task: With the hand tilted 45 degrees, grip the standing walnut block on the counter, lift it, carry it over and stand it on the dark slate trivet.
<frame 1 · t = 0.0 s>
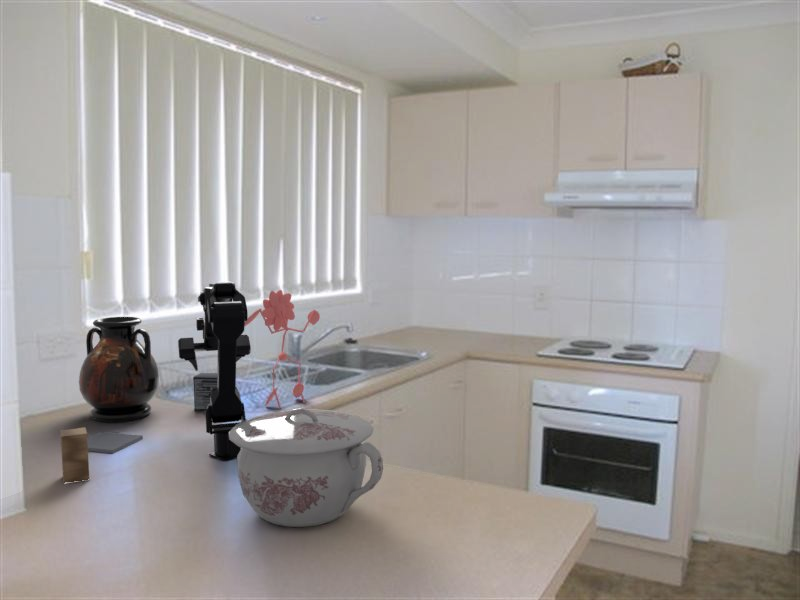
hand: (213, 368, 197), 15 cm above the countertop, tool tilted 35°, fingers open, 9 cm apart
walnut block: (76, 478, 155), on the countertop
slate trivet: (107, 443, 178), on the countertop
amphora vase: (121, 416, 204), on the countertop
figurine: (279, 402, 219), on the countertop
small box: (214, 409, 211), on the countertop
chamber pot: (303, 514, 137), on the countertop
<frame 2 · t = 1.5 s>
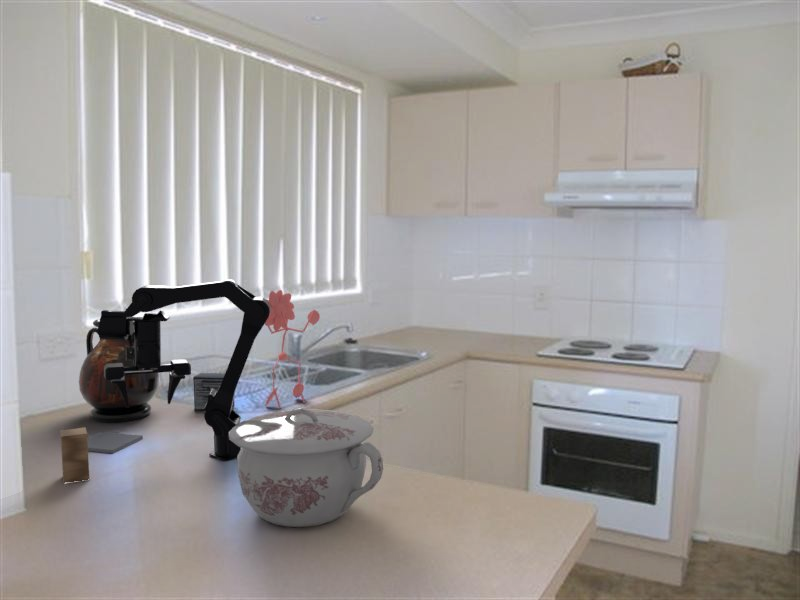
hand: (148, 405, 166), 13 cm above the countertop, tool pointing down, fingers open, 9 cm apart
nothing on the countertop moved.
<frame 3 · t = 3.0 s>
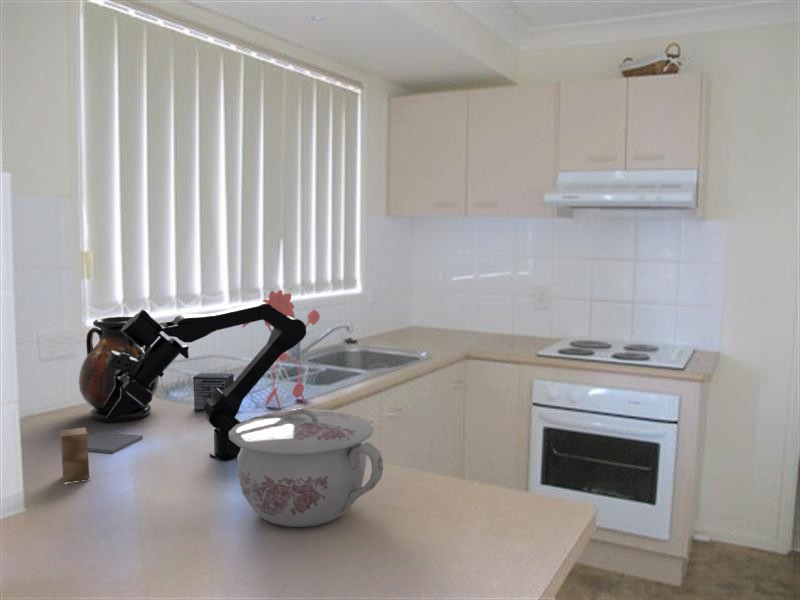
hand: (105, 414, 156), 13 cm above the countertop, tool tilted 45°, fingers open, 9 cm apart
nothing on the countertop moved.
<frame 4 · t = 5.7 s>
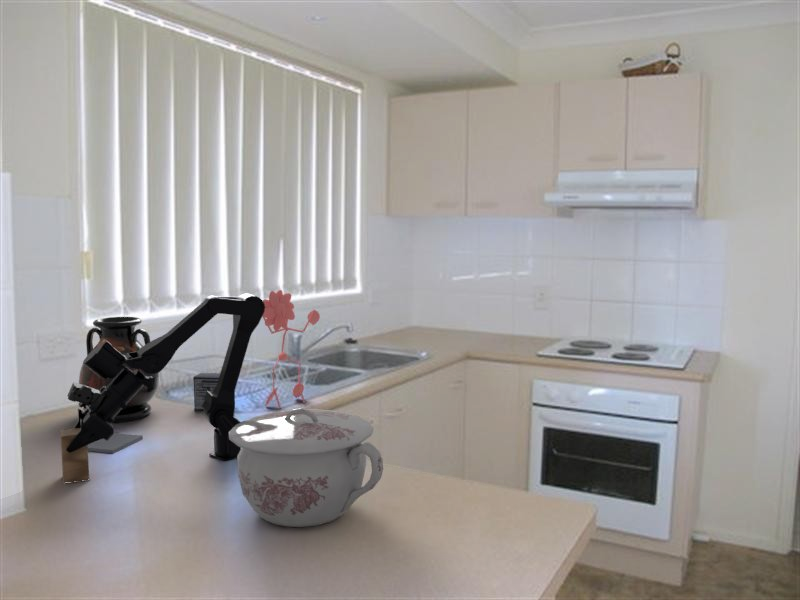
hand: (67, 447, 153), 7 cm above the countertop, tool tilted 45°, fingers closed on walnut block, 5 cm apart
walnut block: (75, 478, 155), on the countertop, touching gripper
everything else where it was.
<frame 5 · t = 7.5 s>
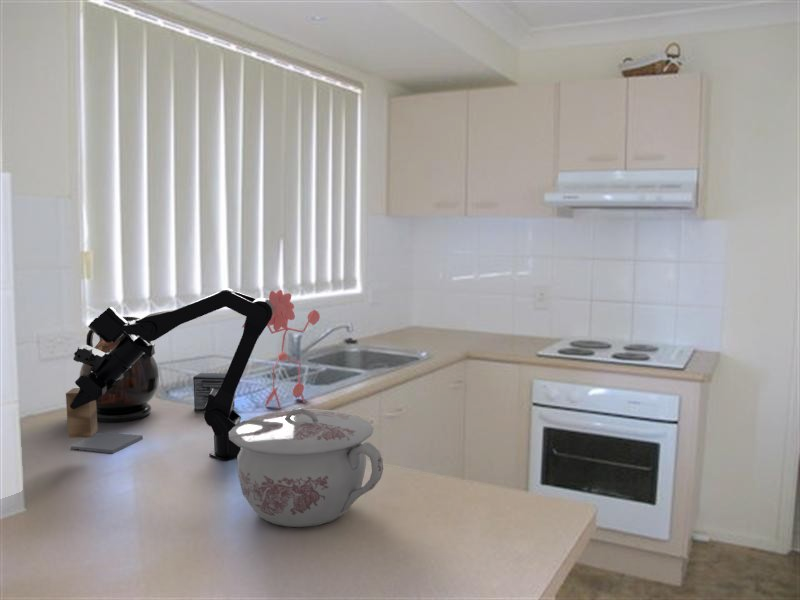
hand: (75, 404, 164), 13 cm above the countertop, tool tilted 45°, fingers closed on walnut block, 5 cm apart
walnut block: (83, 434, 165), point 6 cm above the countertop, touching gripper
everything else where it was.
when the fingers open (8 cm above the countertop, at t = 9.6 s): walnut block stays where it is, resting on slate trivet.
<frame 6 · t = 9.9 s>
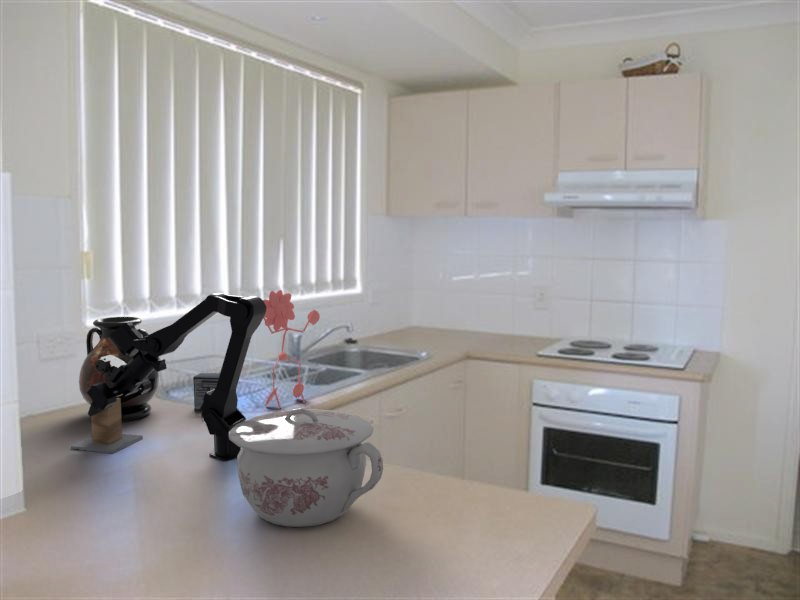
hand: (101, 410, 178), 9 cm above the countertop, tool tilted 45°, fingers open, 9 cm apart
walnut block: (107, 440, 178), point 1 cm above the countertop, touching slate trivet
everything else where it was.
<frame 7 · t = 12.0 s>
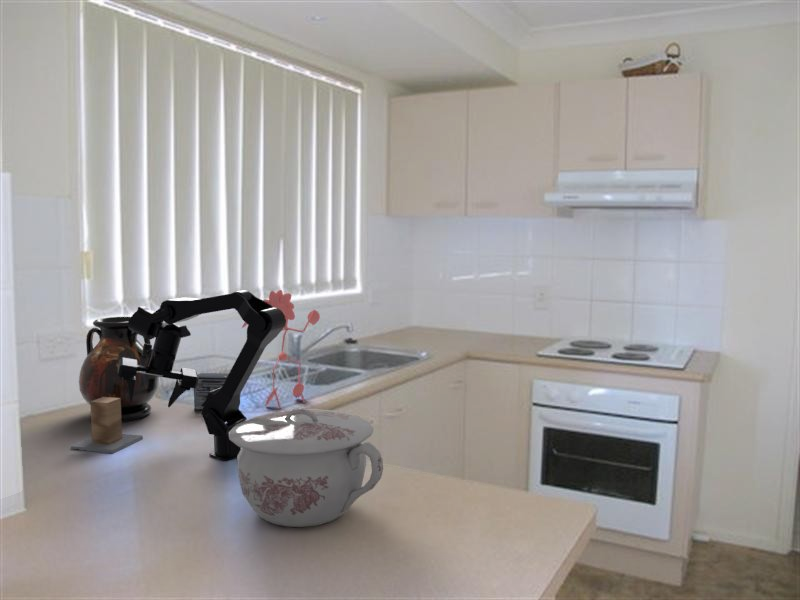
hand: (149, 403, 176), 11 cm above the countertop, tool tilted 20°, fingers open, 9 cm apart
nothing on the countertop moved.
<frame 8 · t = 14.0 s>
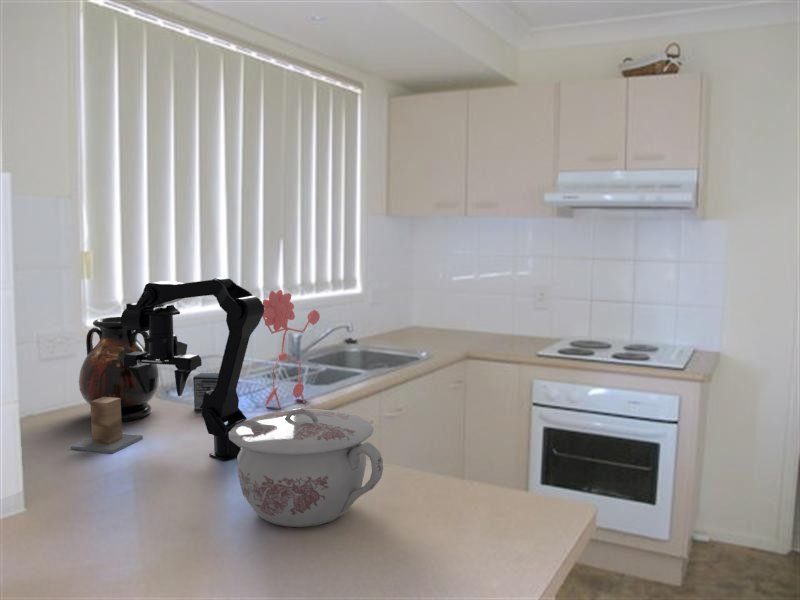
hand: (163, 394, 176), 13 cm above the countertop, tool pointing down, fingers open, 9 cm apart
nothing on the countertop moved.
at the end: walnut block inside the target area on the slate trivet (0.0 cm from its centre), point 0.8 cm above the slate trivet's base; walnut block tilted 0°; the gripper is holding nothing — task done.
